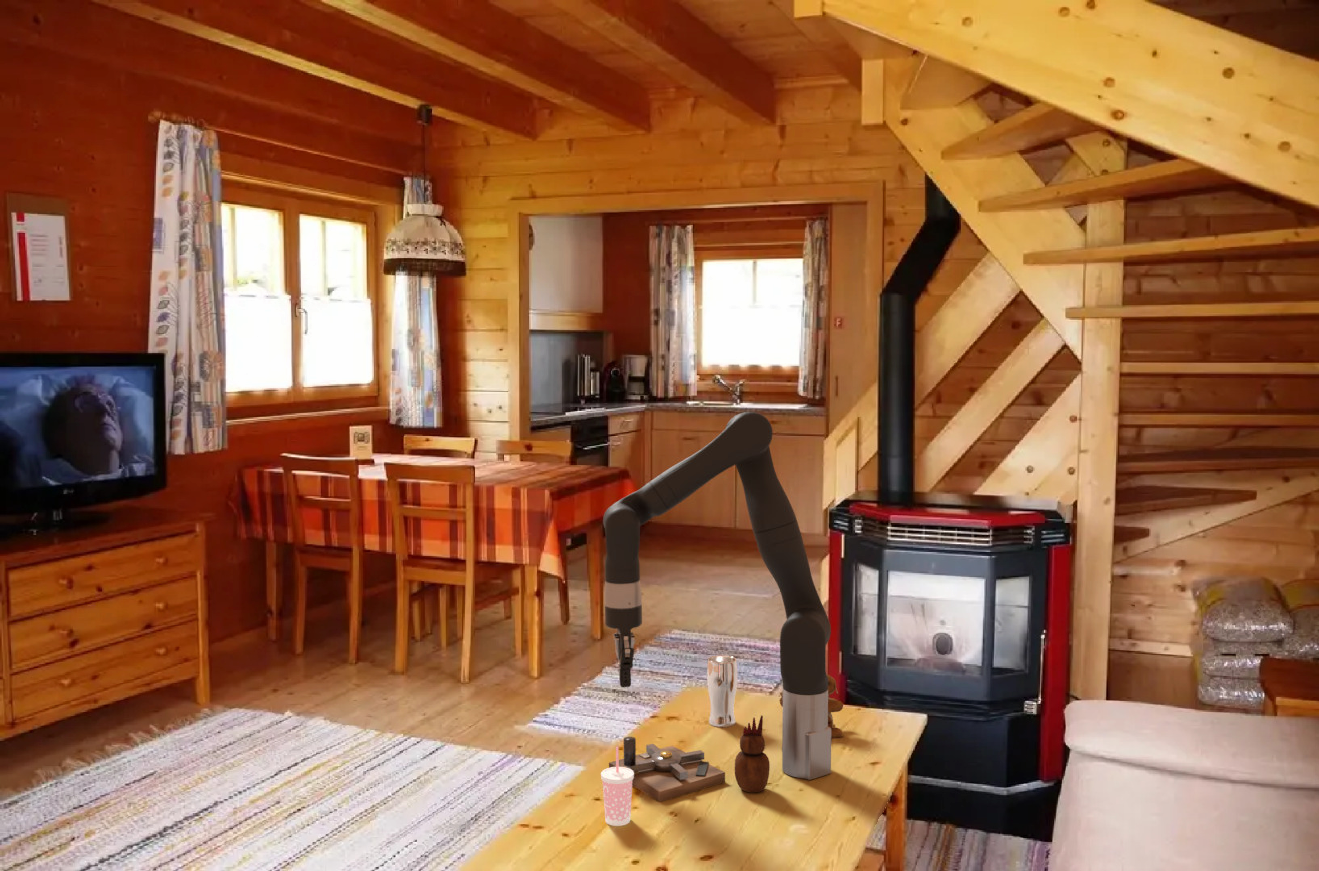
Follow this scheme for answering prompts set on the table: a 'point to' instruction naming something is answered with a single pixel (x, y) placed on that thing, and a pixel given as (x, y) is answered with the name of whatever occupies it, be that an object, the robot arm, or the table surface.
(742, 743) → the wooden figurine
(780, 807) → the table surface
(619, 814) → the beverage cup
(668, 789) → the stand
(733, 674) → the beer glass
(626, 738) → the capstan
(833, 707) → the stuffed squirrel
